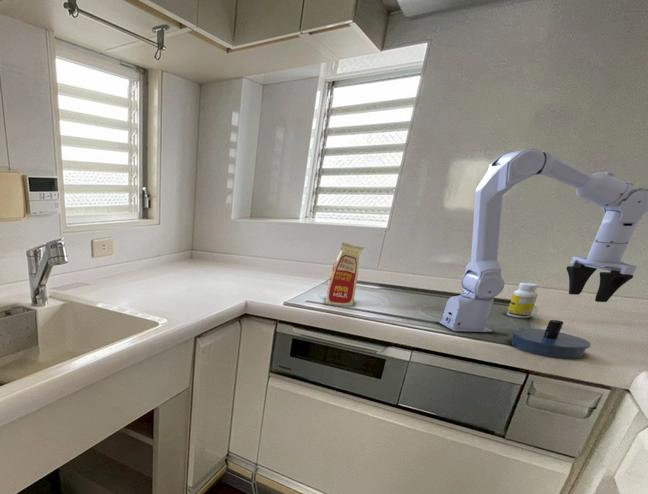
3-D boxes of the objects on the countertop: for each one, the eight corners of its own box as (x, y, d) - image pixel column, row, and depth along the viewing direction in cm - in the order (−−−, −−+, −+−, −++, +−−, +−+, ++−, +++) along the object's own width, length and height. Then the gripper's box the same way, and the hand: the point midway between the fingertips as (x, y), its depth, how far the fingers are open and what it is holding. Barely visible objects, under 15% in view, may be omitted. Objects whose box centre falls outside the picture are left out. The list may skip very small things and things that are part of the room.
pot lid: (539, 350, 91) (547, 329, 89) (498, 331, 103) (504, 312, 101) (606, 353, 89) (616, 331, 87) (556, 333, 101) (564, 313, 99)
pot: (536, 357, 92) (540, 347, 91) (499, 338, 103) (502, 330, 102) (598, 359, 90) (603, 349, 89) (553, 340, 102) (557, 331, 101)
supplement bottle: (506, 312, 125) (516, 281, 122) (529, 315, 122) (541, 283, 118) (506, 316, 121) (517, 284, 118) (529, 319, 118) (542, 286, 114)
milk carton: (326, 304, 136) (336, 243, 128) (325, 297, 144) (334, 240, 136) (355, 306, 133) (368, 244, 125) (353, 299, 141) (364, 240, 133)
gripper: (661, 246, 89) (633, 305, 94) (601, 239, 102) (579, 291, 108) (626, 245, 90) (599, 304, 95) (570, 238, 103) (550, 290, 108)
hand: (586, 297), depth 101 cm, fingers open, 7 cm apart
